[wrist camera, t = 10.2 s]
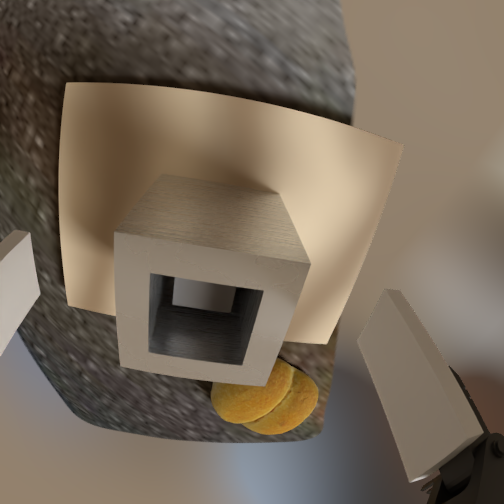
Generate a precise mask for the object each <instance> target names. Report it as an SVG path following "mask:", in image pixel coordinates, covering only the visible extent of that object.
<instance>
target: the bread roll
mask: <svg viewBox="0 0 504 504" xmlns="http://www.w3.org/2000/svg"><path fill="white" fill-rule="evenodd" d="M317 399H318V388H317V386H316V385H315V383H314V382H313V380H312V379H311V378H310V377H309V376H308V375H306V374H305V373H303V372H302V371H300V370H298V369H296V368H294V367H292V366H291V365H289V364H288V363H287V362H285V361H284V360H281V359H279V358H276V361H275V363H274V366H273V368H272V371H271V373H270V376H269V378H268V381H267V383H266V385H265V386H252V385H240V384H230V383H221V382H213V385H212V390H211V401H212V405H213V407H214V408H215V410H216V412H217V413H218V414H219V416H220V417H221V418H222V419H224V420H225V421H229V422H232V423H242V424H243V425H244V426H245V427H247V428H249V429H250V430H252V431H255V432H258V433H261V434H267V435H269V434H281V433H284V432H286V431H289V430H291V429H293V428H295V427H296V426H298V425H299V424H300V423H302V422H303V421H304V419H305V418H307V417H308V416H309V414H310V413H311V412H312V411H313V409H314V408H315V405H316V402H317Z"/></svg>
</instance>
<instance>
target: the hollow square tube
mask: <svg viewBox="0 0 504 504" xmlns="http://www.w3.org/2000/svg"><path fill="white" fill-rule="evenodd" d="M310 266H311V262H310V260H309V257H308V255H307V253H306V251H305V248H304V246H303V244H302V242H301V239H300V237H299V235H298V233H297V231H296V228H295V226H294V224H293V222H292V220H291V218H290V215H289V213H288V211H287V209H286V207H285V205H284V202H283V200H282V198H281V196H280V194H277V193H272V192H267V191H262V190H257V189H251V188H246V187H241V186H235V185H229V184H224V183H218V182H212V181H206V180H200V179H194V178H187V177H181V176H174V175H168V174H161V175H160V176H159V177H158V178H157V179H156V181H155V182H154V183H153V184H152V185H151V187H150V188H149V189H148V190H147V191H146V192H145V194H144V195H143V196H142V197H141V198H140V200H139V201H138V202H137V203H136V205H135V206H134V207H133V208H132V209H131V211H130V212H129V213H128V214H127V216H126V217H125V218H124V220H123V221H122V222H121V223H120V225H119V226H118V227H117V229H116V230H115V231H114V286H115V308H116V323H117V336H118V347H119V356H120V365H121V366H122V367H127V368H131V369H136V370H141V371H147V372H152V373H158V374H164V375H170V376H176V377H182V378H189V379H196V380H204V381H212V382H221V383H230V384H240V385H252V386H265V385H266V383H267V381H268V378H269V376H270V373H271V371H272V368H273V366H274V363H275V361H276V358H277V356H278V353H279V351H280V348H281V345H282V343H283V340H284V338H285V335H286V332H287V330H288V327H289V324H290V322H291V319H292V316H293V314H294V311H295V308H296V306H297V303H298V300H299V297H300V294H301V292H302V289H303V286H304V283H305V280H306V278H307V275H308V272H309V269H310ZM175 277H178V278H184V279H190V280H196V281H203V282H209V283H216V284H222V285H229V286H236V291H235V295H234V300H233V304H232V308H231V313H225V312H218V311H211V310H204V309H198V308H191V307H185V306H179V305H173V304H172V303H173V292H174V281H175Z"/></svg>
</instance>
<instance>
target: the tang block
mask: <svg viewBox="0 0 504 504" xmlns="http://www.w3.org/2000/svg"><path fill="white" fill-rule="evenodd" d="M403 148H404V145H402V144H400V143H397V142H395V141H392V140H389V139H387V138H384V137H381V136H379V135H376V134H373V133H370V132H367V131H364V130H361V129H358V128H355V127H352V126H349V125H346V124H343V123H339V122H336V121H333V120H330V119H326V118H323V117H319V116H316V115H312V114H308V113H304V112H301V111H297V110H293V109H289V108H285V107H281V106H276V105H272V104H267V103H263V102H258V101H253V100H248V99H243V98H238V97H233V96H227V95H221V94H215V93H209V92H202V91H195V90H188V89H180V88H171V87H161V86H151V85H138V84H122V83H89V82H75V83H66V88H65V95H64V103H63V112H62V122H61V134H60V150H59V224H60V240H61V252H62V263H63V272H64V280H65V287H66V294H67V301H68V305H69V306H73V307H77V308H82V309H86V310H90V311H95V312H99V313H104V314H109V315H113V316H116V308H115V286H114V231H115V230H116V229H117V227H118V226H119V225H120V223H121V222H122V221H123V220H124V218H125V217H126V216H127V214H128V213H129V212H130V211H131V209H132V208H133V207H134V206H135V205H136V203H137V202H138V201H139V200H140V198H141V197H142V196H143V195H144V194H145V192H146V191H147V190H148V189H149V188H150V187H151V185H152V184H153V183H154V182H155V181H156V179H157V178H158V177H159V176H160V175H161V174H168V175H174V176H181V177H187V178H194V179H200V180H206V181H212V182H218V183H224V184H229V185H235V186H241V187H246V188H251V189H257V190H262V191H267V192H272V193H277V194H280V196H281V198H282V200H283V202H284V205H285V207H286V209H287V211H288V213H289V215H290V218H291V220H292V222H293V224H294V226H295V228H296V231H297V233H298V235H299V237H300V239H301V242H302V244H303V246H304V248H305V251H306V253H307V255H308V257H309V260H310V262H311V266H310V269H309V272H308V275H307V278H306V280H305V283H304V286H303V289H302V292H301V294H300V297H299V300H298V303H297V306H296V308H295V311H294V314H293V316H292V319H291V322H290V324H289V327H288V330H287V332H286V335H285V338H284V340H283V341H291V342H303V343H316V344H327V342H328V340H329V338H330V336H331V334H332V332H333V330H334V328H335V326H336V323H337V321H338V319H339V317H340V315H341V313H342V310H343V308H344V306H345V304H346V301H347V299H348V297H349V295H350V293H351V290H352V288H353V286H354V283H355V281H356V279H357V276H358V274H359V271H360V269H361V266H362V264H363V262H364V259H365V257H366V254H367V252H368V249H369V247H370V244H371V241H372V239H373V236H374V234H375V231H376V229H377V226H378V223H379V220H380V217H381V215H382V212H383V209H384V207H385V203H386V201H387V198H388V195H389V192H390V189H391V186H392V183H393V180H394V177H395V173H396V171H397V168H398V164H399V161H400V158H401V155H402V151H403ZM235 291H236V286H229V285H222V284H216V283H209V282H203V281H196V280H190V279H184V278H178V277H175V281H174V292H173V303H172V304H173V305H179V306H185V307H191V308H198V309H204V310H211V311H218V312H225V313H231V308H232V304H233V300H234V295H235Z"/></svg>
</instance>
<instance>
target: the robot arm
mask: <svg viewBox="0 0 504 504" xmlns="http://www.w3.org/2000/svg"><path fill="white" fill-rule="evenodd" d="M39 295H40V290H39V285H38V280H37V275H36V269H35V264H34V257H33V251H32V244H31V236H30V232H25V231H19V230H14V231H13V232H12V233H11V234H9V235H8V236H7V237H6V238H5V239H4V240H3V241H2V242H1V243H0V356H1V355H2V353H3V351H4V350H5V348H6V346H7V344H8V343H9V341H10V340H11V338H12V336H13V335H14V333H15V331H16V330H17V328H18V327H19V325H20V324H21V322H22V320H23V319H24V317H25V316H26V314H27V313H28V311H29V310H30V308H31V307H32V305H33V304H34V302H35V301H36V300H37V298H38V297H39ZM357 343H358V345H359V348H360V350H361V352H362V355H363V357H364V360H365V362H366V365H367V367H368V370H369V372H370V375H371V377H372V380H373V382H374V385H375V388H376V390H377V393H378V395H379V398H380V400H381V403H382V406H383V408H384V411H385V414H386V417H387V419H388V422H389V424H390V427H391V430H392V433H393V436H394V438H395V441H396V444H397V447H398V450H399V453H400V456H401V458H402V462H403V465H404V468H405V471H406V474H407V476H408V480H409V482H413V481H417V480H420V479H423V478H426V477H428V476H429V475H431V474H432V473H434V472H435V471H437V470H438V469H439V470H440V473H441V474H440V475H438V476H437V477H435V478H434V479H432V480H431V481H429V482H428V483H426V484H425V485H423V487H422V489H421V491H424V490H426V489H428V488H429V487H431V486H432V485H433V487H432V488H431V489H429V490H428V491H427V494H430V496H429V499H428V502H427V504H504V436H503V435H501V434H499V433H493V434H490V432H489V431H488V429H487V427H486V425H485V423H484V421H483V419H482V417H481V415H480V413H479V411H478V410H477V407H476V406H475V404H474V402H473V400H472V399H470V397H471V396H470V395H469V393H468V391H467V390H465V386H464V384H463V382H462V380H461V379H460V377H459V375H458V374H457V373H456V372H455V371H454V370H453V369H452V368H451V367H450V366H448V365H447V363H446V362H445V360H444V358H443V357H442V355H441V353H440V351H439V350H438V348H437V346H436V345H435V343H434V342H433V340H432V338H431V337H430V336H429V334H428V332H427V331H426V329H425V327H424V326H423V324H422V323H421V321H420V320H419V318H418V317H417V315H416V313H415V312H414V310H413V309H412V307H411V306H410V304H409V303H408V301H407V300H406V299H405V297H404V296H403V294H402V293H401V291H399V290H391V289H384V291H383V293H382V295H381V297H380V299H379V301H378V303H377V305H376V307H375V309H374V310H373V312H372V314H371V316H370V318H369V320H368V322H367V323H366V325H365V327H364V329H363V331H362V333H361V334H360V336H359V338H358V340H357Z"/></svg>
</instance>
